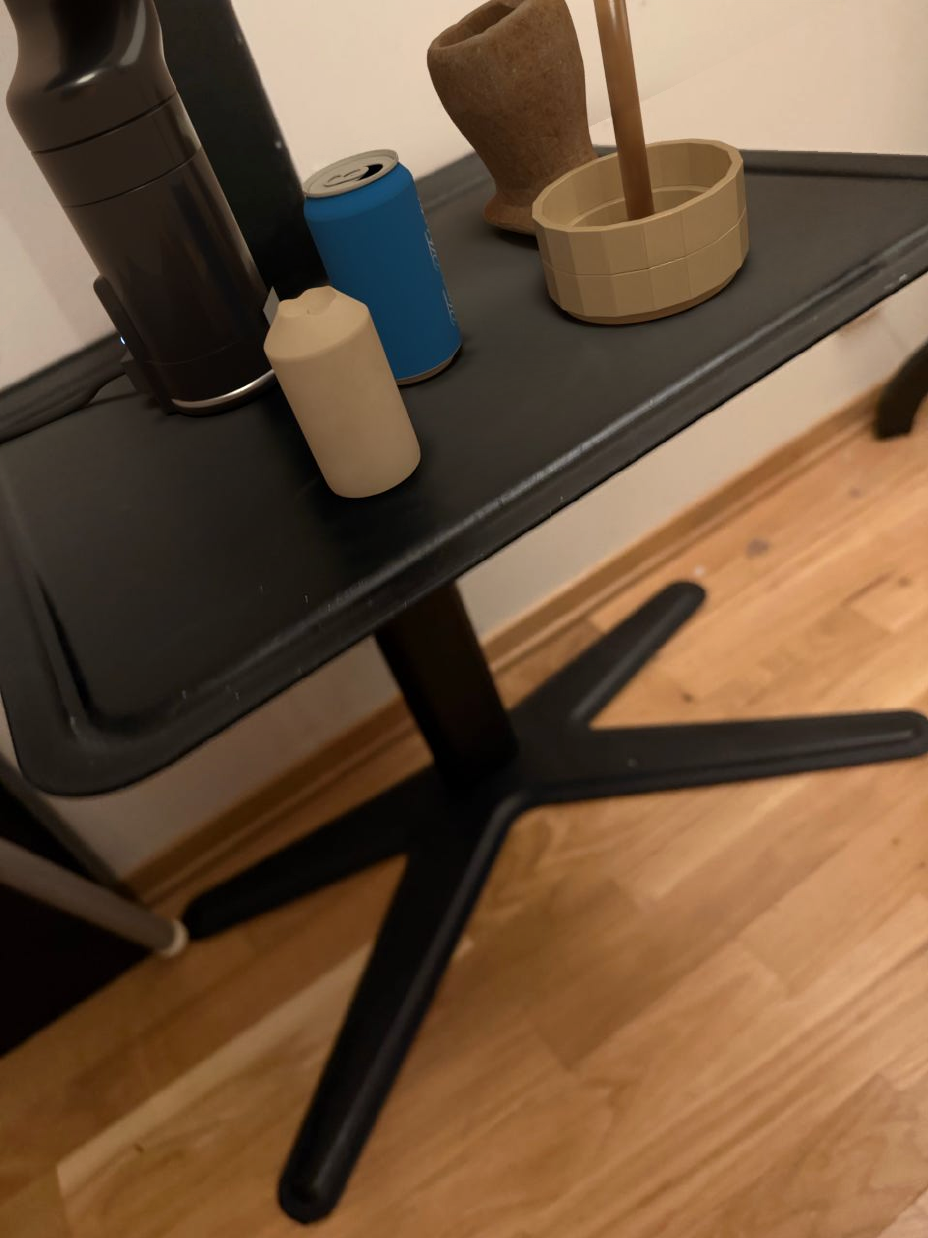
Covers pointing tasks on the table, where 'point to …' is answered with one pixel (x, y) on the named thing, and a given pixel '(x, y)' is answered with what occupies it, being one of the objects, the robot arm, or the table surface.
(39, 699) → the table surface
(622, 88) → the wooden plunger
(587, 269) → the bowl
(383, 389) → the candle
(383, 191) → the beverage can
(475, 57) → the stone cup
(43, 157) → the robot arm
